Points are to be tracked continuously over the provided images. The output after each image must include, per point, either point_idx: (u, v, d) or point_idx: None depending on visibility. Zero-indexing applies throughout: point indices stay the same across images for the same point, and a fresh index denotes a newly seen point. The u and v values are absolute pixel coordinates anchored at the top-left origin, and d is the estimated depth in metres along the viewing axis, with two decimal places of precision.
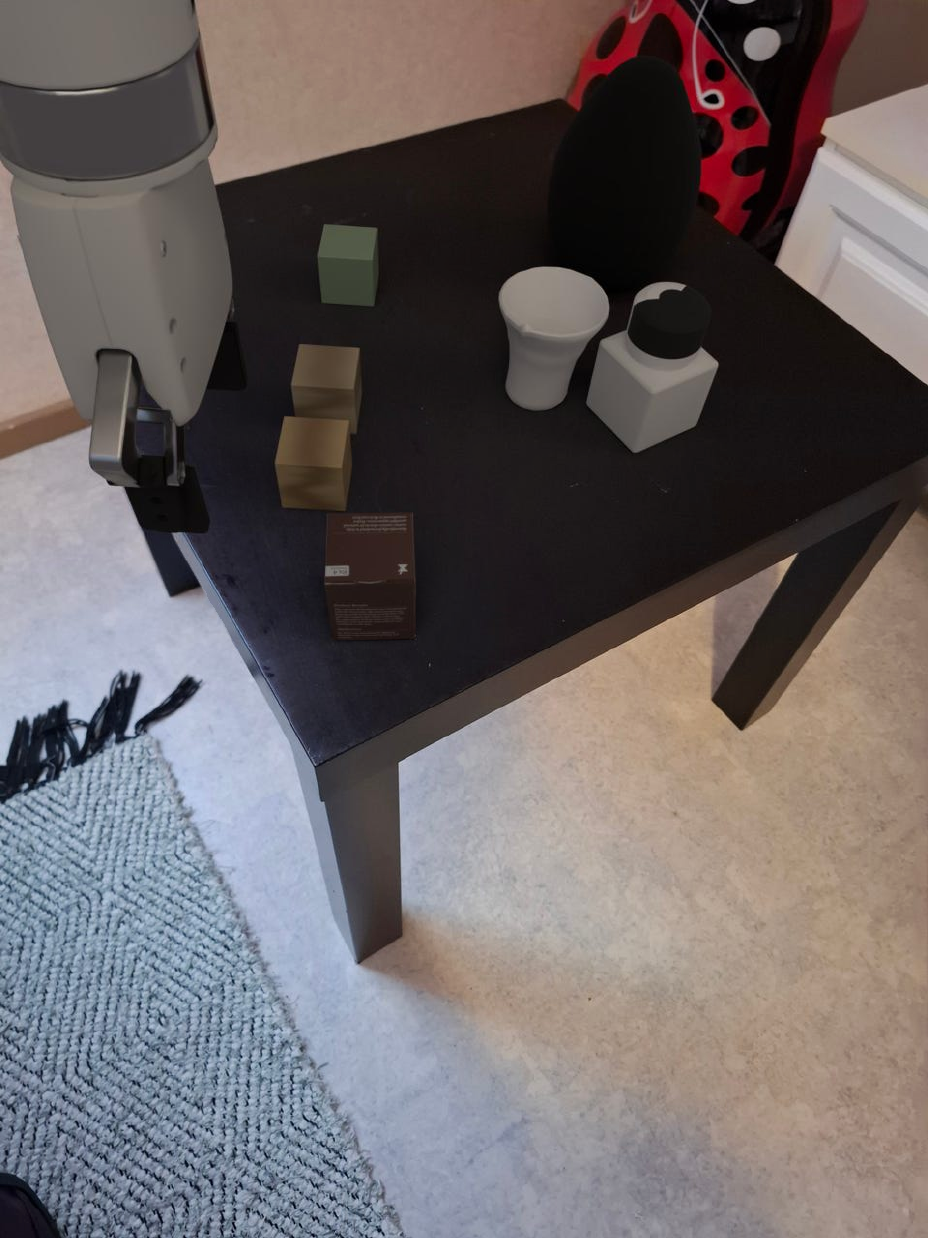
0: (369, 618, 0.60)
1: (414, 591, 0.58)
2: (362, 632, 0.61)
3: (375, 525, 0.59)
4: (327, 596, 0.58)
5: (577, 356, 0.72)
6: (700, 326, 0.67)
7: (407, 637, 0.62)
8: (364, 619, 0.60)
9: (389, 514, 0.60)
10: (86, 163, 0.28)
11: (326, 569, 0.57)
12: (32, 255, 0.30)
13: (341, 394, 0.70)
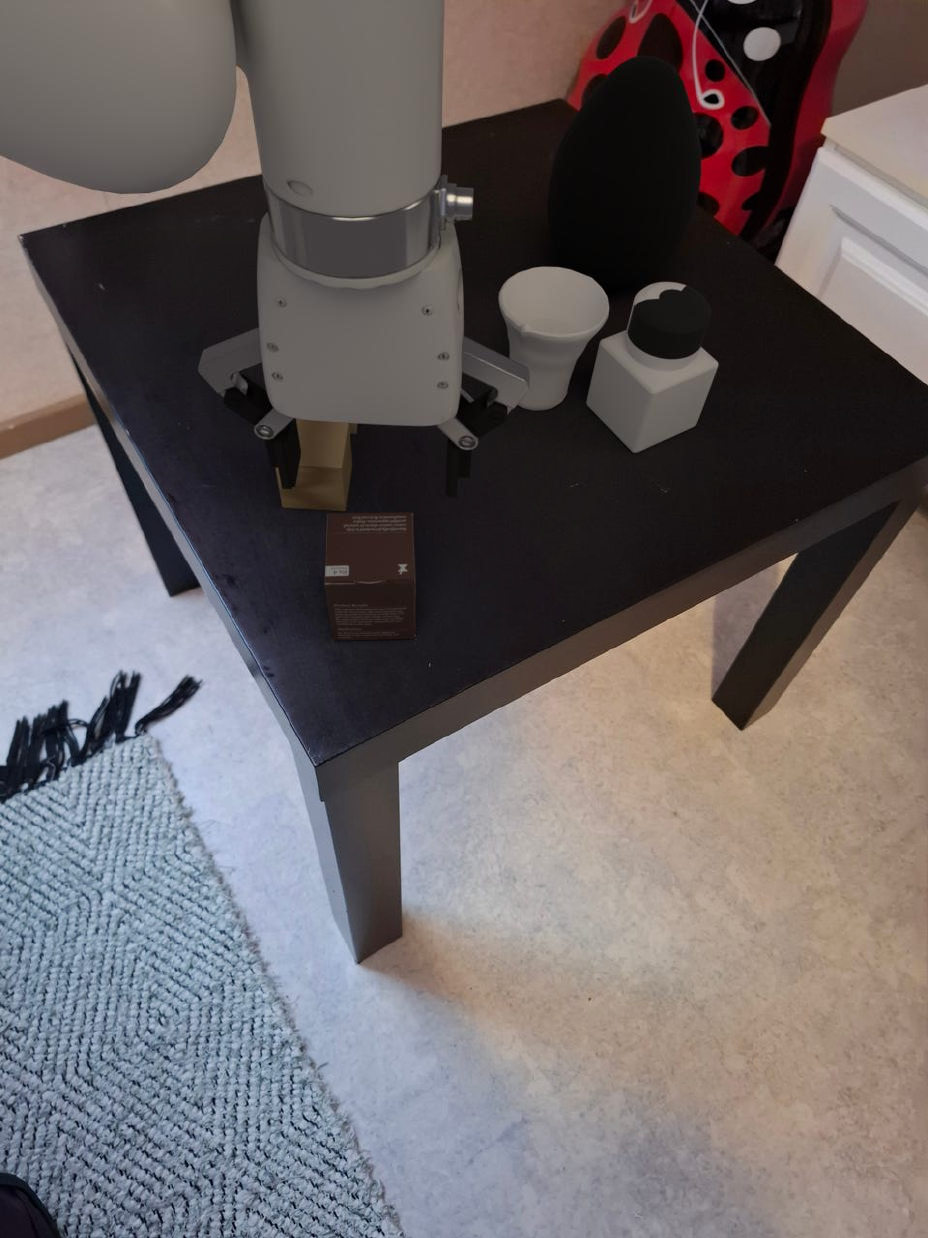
0: (369, 618, 0.60)
1: (414, 591, 0.58)
2: (362, 632, 0.61)
3: (375, 525, 0.59)
4: (327, 596, 0.58)
5: (577, 356, 0.72)
6: (700, 326, 0.67)
7: (407, 637, 0.62)
8: (364, 619, 0.60)
9: (389, 514, 0.60)
10: None
11: (326, 569, 0.57)
12: None
13: None
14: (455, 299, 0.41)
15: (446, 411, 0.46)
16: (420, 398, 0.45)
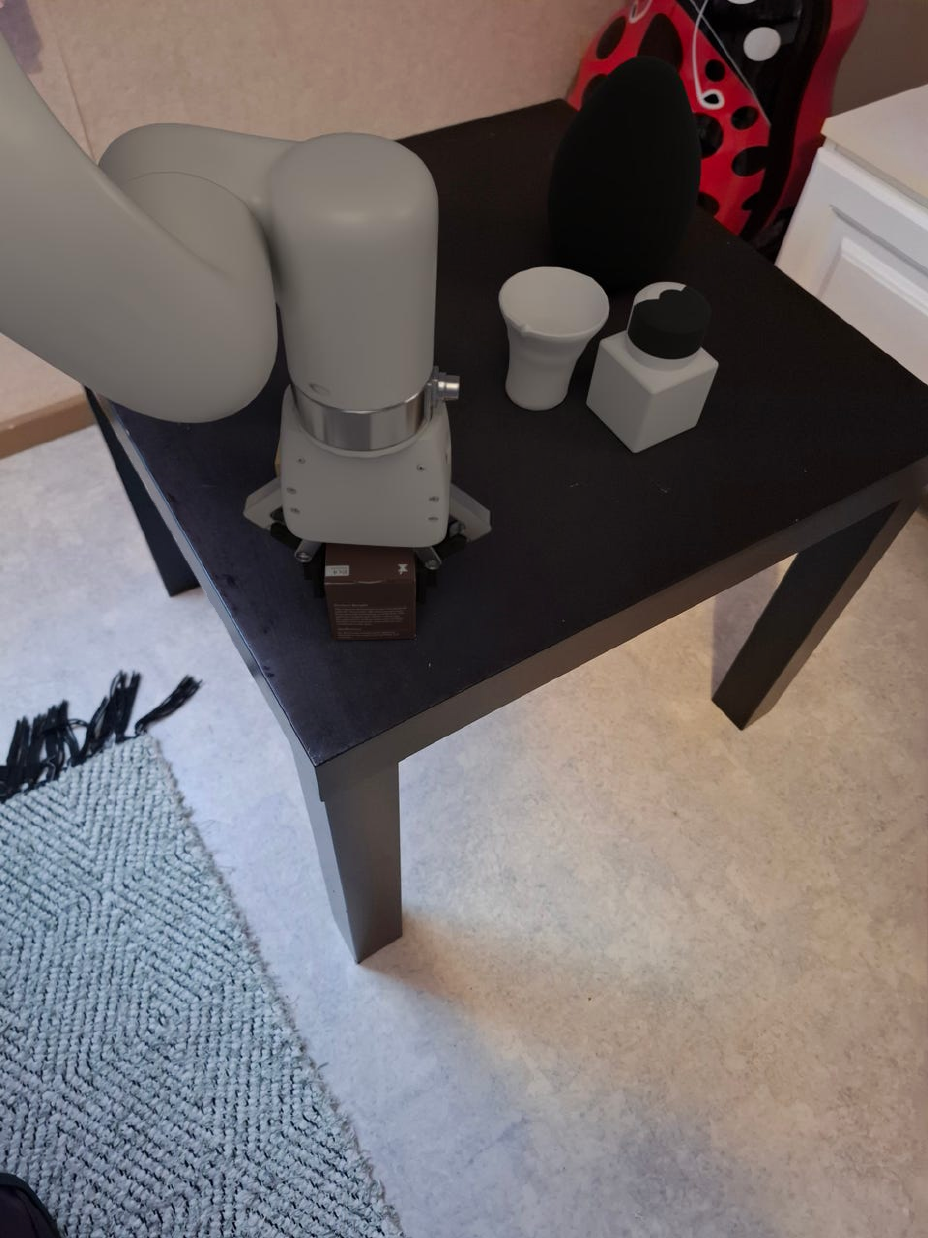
0: (369, 618, 0.60)
1: (414, 591, 0.58)
2: (362, 631, 0.61)
3: None
4: (327, 596, 0.58)
5: (577, 356, 0.72)
6: (700, 326, 0.67)
7: (407, 637, 0.62)
8: (364, 619, 0.60)
9: None
10: None
11: (326, 569, 0.57)
12: None
13: None
14: (444, 456, 0.49)
15: (436, 537, 0.54)
16: (414, 528, 0.53)
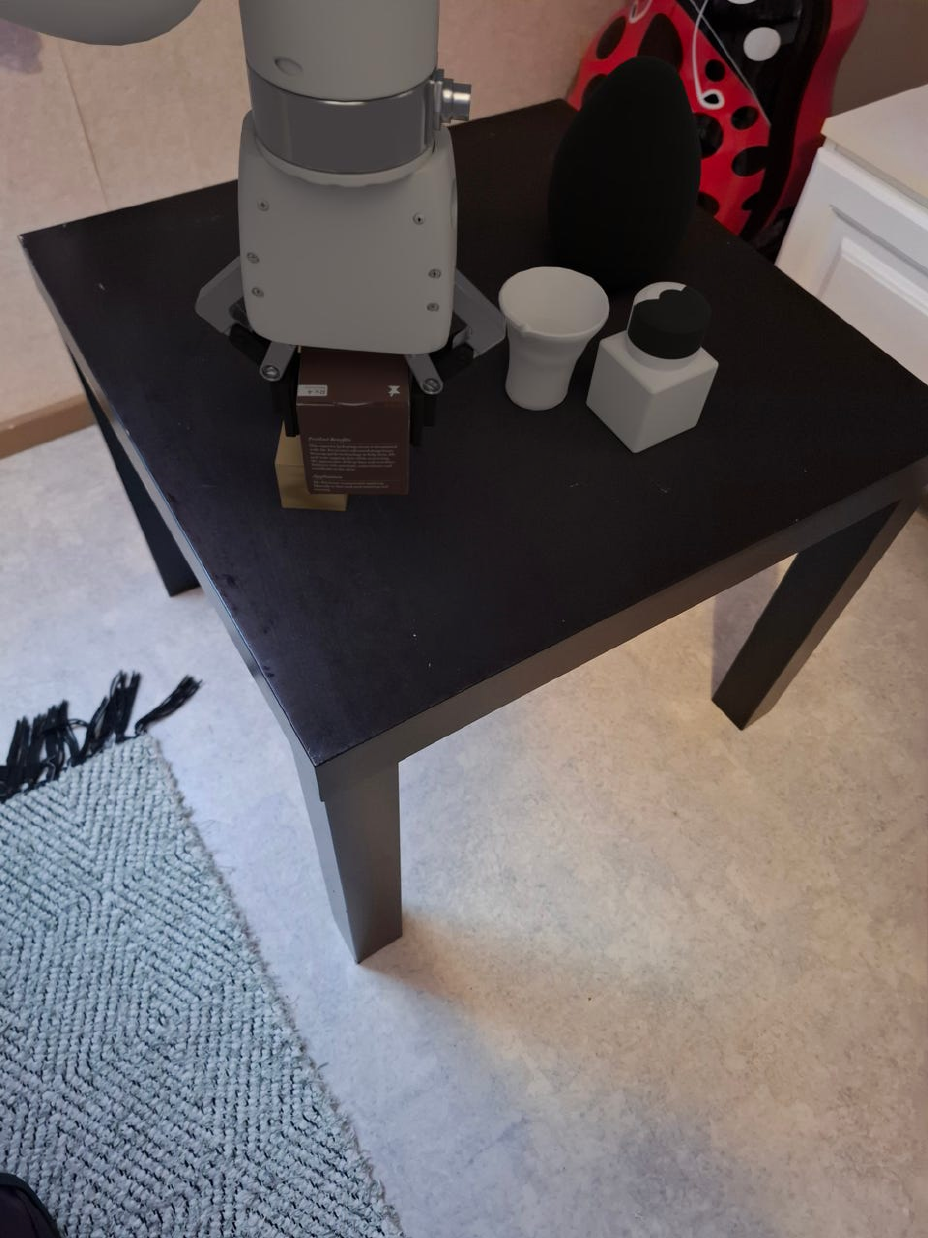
0: (352, 460, 0.49)
1: (408, 420, 0.47)
2: (343, 481, 0.50)
3: None
4: (300, 424, 0.47)
5: (577, 356, 0.72)
6: (700, 326, 0.67)
7: (398, 492, 0.51)
8: (346, 461, 0.49)
9: None
10: None
11: (299, 388, 0.46)
12: None
13: None
14: (449, 209, 0.38)
15: (436, 337, 0.43)
16: (409, 321, 0.42)
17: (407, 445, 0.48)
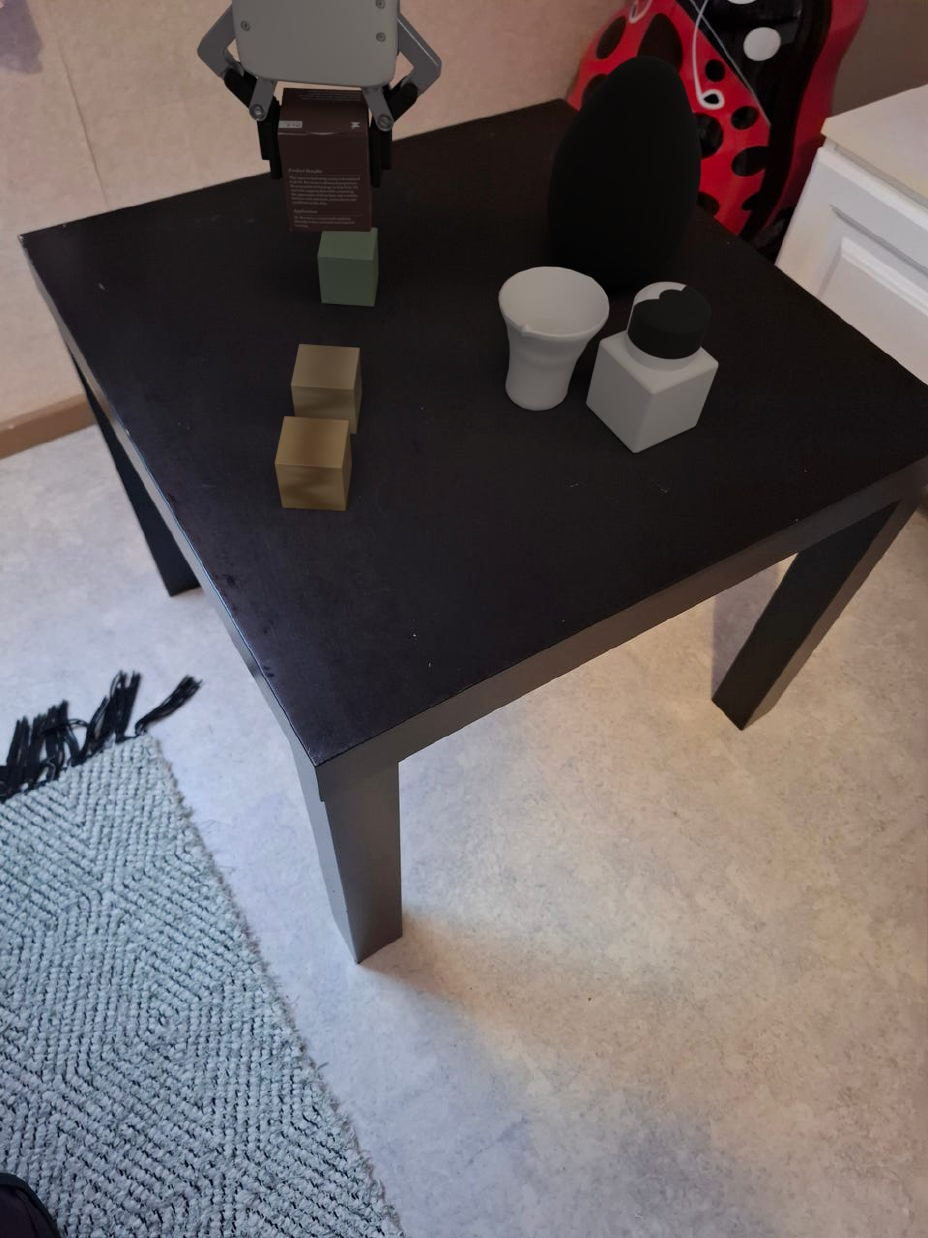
0: (324, 193, 0.61)
1: (367, 151, 0.59)
2: (318, 216, 0.63)
3: (330, 97, 0.60)
4: (281, 155, 0.59)
5: (577, 356, 0.72)
6: (700, 326, 0.67)
7: (363, 228, 0.64)
8: (319, 195, 0.61)
9: (344, 90, 0.61)
10: None
11: (280, 122, 0.58)
12: None
13: (341, 394, 0.70)
14: None
15: (385, 68, 0.55)
16: (363, 51, 0.54)
17: (367, 178, 0.61)
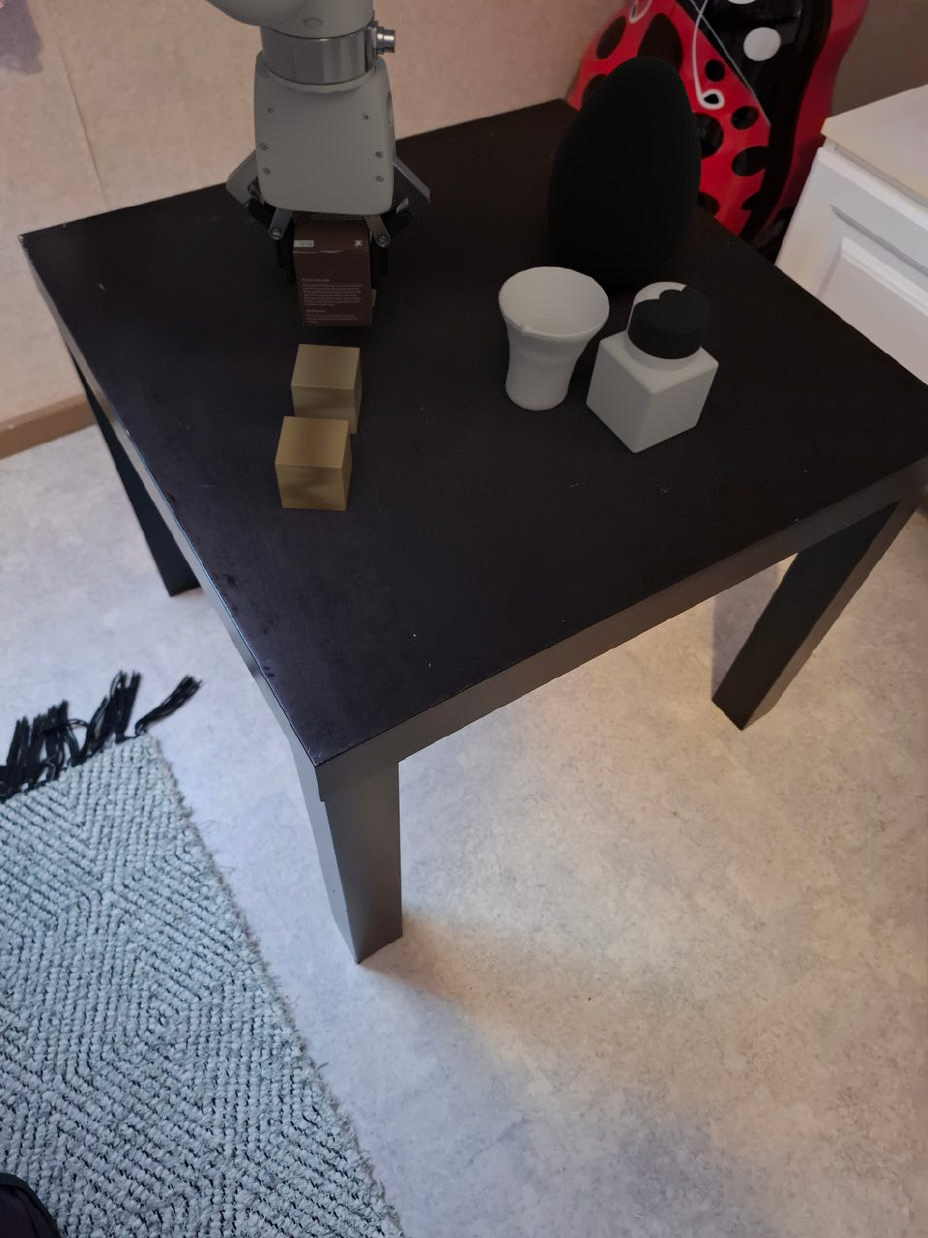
0: (332, 296, 0.72)
1: (368, 264, 0.70)
2: (326, 314, 0.73)
3: (336, 216, 0.71)
4: (296, 268, 0.70)
5: (577, 356, 0.72)
6: (700, 326, 0.67)
7: (365, 323, 0.74)
8: (328, 298, 0.72)
9: None
10: (262, 48, 0.59)
11: (295, 242, 0.69)
12: None
13: (341, 394, 0.70)
14: (385, 111, 0.61)
15: (383, 201, 0.66)
16: (364, 189, 0.65)
17: (369, 284, 0.71)
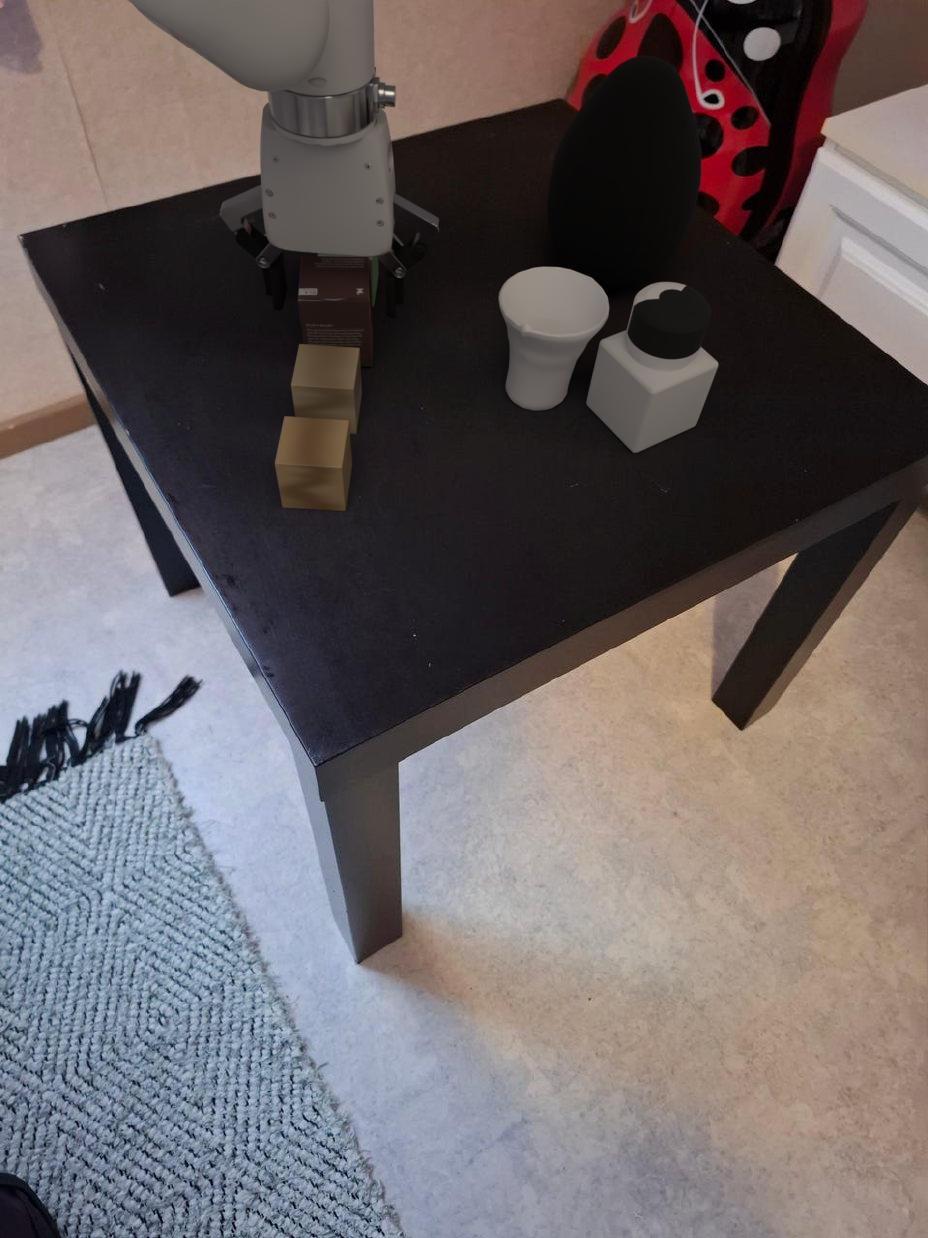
0: (334, 340, 0.76)
1: (369, 311, 0.74)
2: None
3: (339, 264, 0.75)
4: (300, 314, 0.73)
5: (577, 356, 0.72)
6: (700, 326, 0.67)
7: (366, 364, 0.78)
8: (330, 341, 0.76)
9: (351, 257, 0.76)
10: None
11: (299, 290, 0.73)
12: None
13: (341, 394, 0.70)
14: (386, 160, 0.64)
15: (383, 244, 0.69)
16: (366, 233, 0.68)
17: (370, 329, 0.75)
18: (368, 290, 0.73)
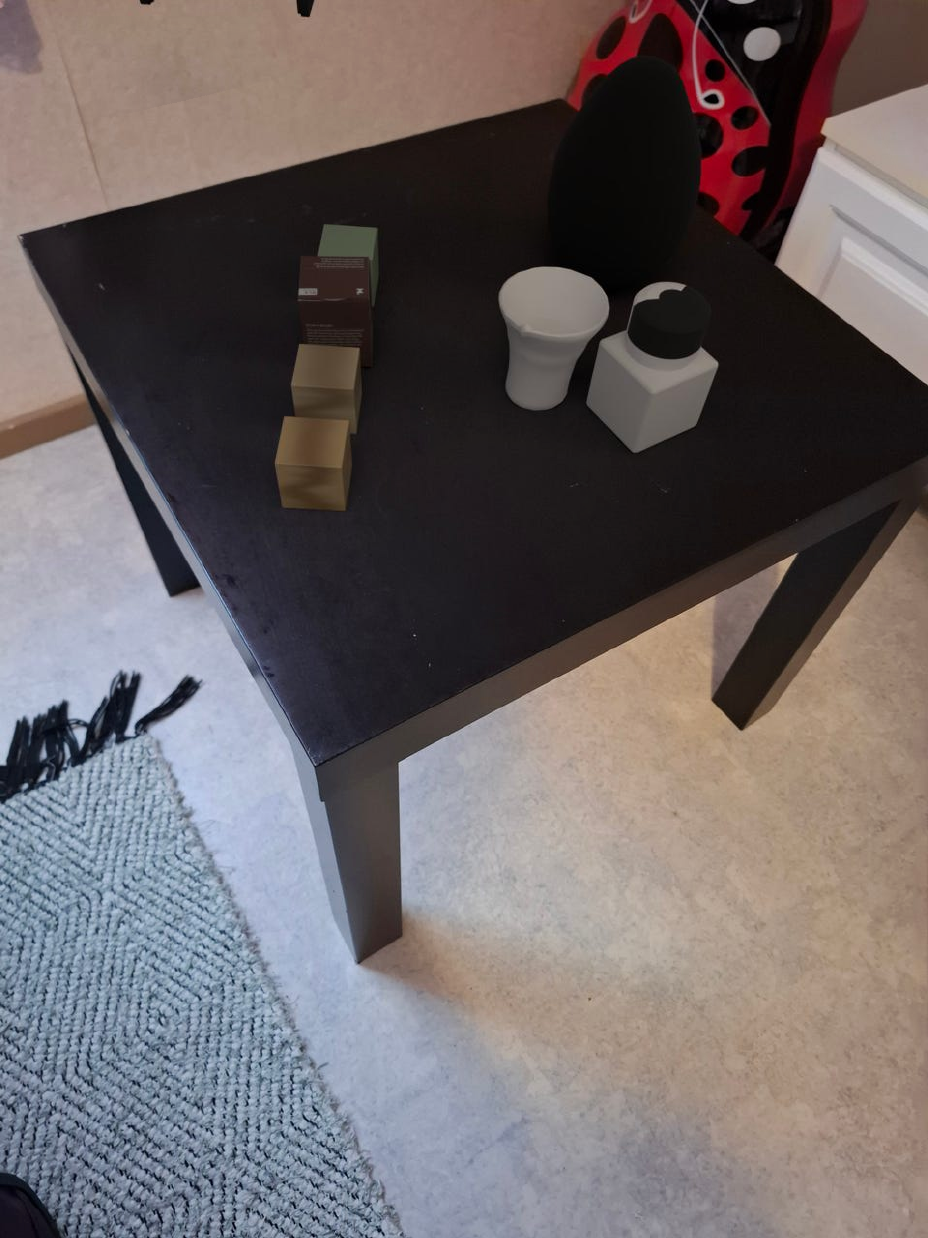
0: (334, 340, 0.76)
1: (369, 311, 0.74)
2: None
3: (339, 264, 0.75)
4: (300, 314, 0.73)
5: (577, 356, 0.72)
6: (700, 326, 0.67)
7: (366, 364, 0.78)
8: (330, 341, 0.76)
9: (351, 257, 0.75)
10: None
11: (299, 290, 0.73)
12: None
13: (341, 394, 0.70)
14: None
15: None
16: None
17: (370, 329, 0.75)
18: (368, 290, 0.73)
